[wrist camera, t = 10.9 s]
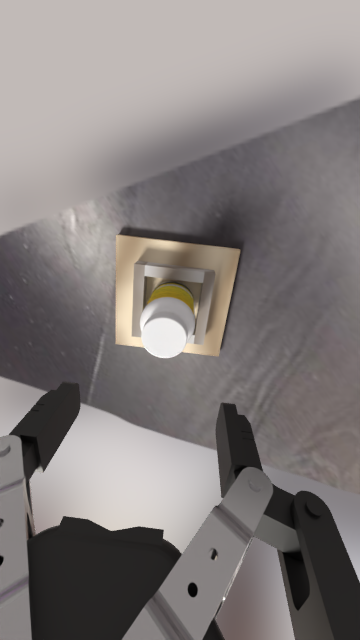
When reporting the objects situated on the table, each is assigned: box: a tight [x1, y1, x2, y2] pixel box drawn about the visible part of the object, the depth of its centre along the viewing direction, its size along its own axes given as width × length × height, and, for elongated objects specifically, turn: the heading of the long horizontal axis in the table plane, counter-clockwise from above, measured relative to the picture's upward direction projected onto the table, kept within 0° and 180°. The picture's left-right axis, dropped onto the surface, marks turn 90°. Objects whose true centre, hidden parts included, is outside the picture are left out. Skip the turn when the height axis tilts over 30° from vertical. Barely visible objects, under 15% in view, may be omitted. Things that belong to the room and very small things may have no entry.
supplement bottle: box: [140, 281, 195, 358], centre depth 25 cm, size 5×5×10 cm
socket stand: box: [116, 234, 240, 356], centre depth 29 cm, size 14×14×3 cm
